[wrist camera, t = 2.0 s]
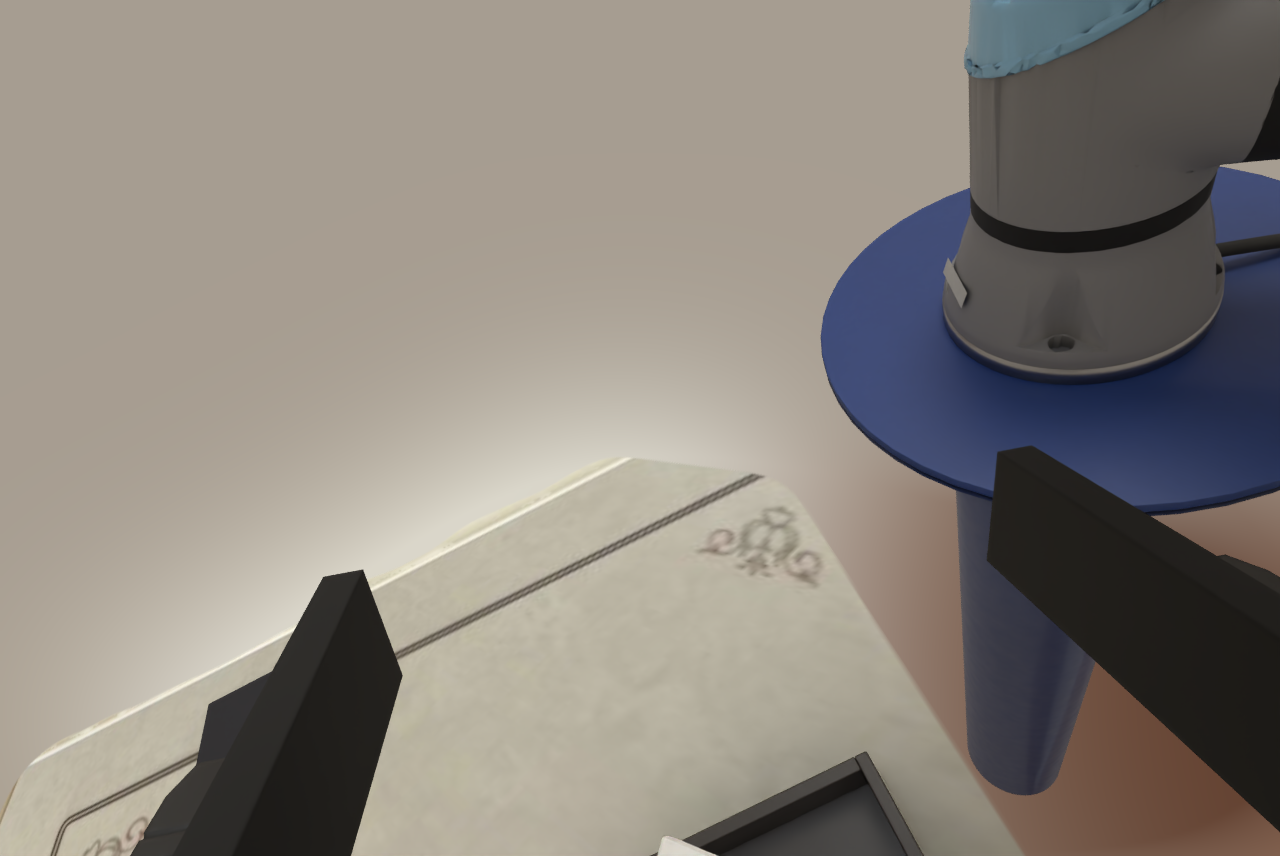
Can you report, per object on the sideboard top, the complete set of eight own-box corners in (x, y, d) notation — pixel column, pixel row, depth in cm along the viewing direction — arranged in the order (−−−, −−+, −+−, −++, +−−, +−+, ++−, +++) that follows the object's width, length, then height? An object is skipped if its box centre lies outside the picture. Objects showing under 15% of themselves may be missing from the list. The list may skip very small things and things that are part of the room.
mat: (314, 653, 49) (310, 651, 49) (303, 773, 43) (299, 772, 42) (212, 705, 49) (208, 703, 49) (187, 832, 43) (182, 831, 43)
